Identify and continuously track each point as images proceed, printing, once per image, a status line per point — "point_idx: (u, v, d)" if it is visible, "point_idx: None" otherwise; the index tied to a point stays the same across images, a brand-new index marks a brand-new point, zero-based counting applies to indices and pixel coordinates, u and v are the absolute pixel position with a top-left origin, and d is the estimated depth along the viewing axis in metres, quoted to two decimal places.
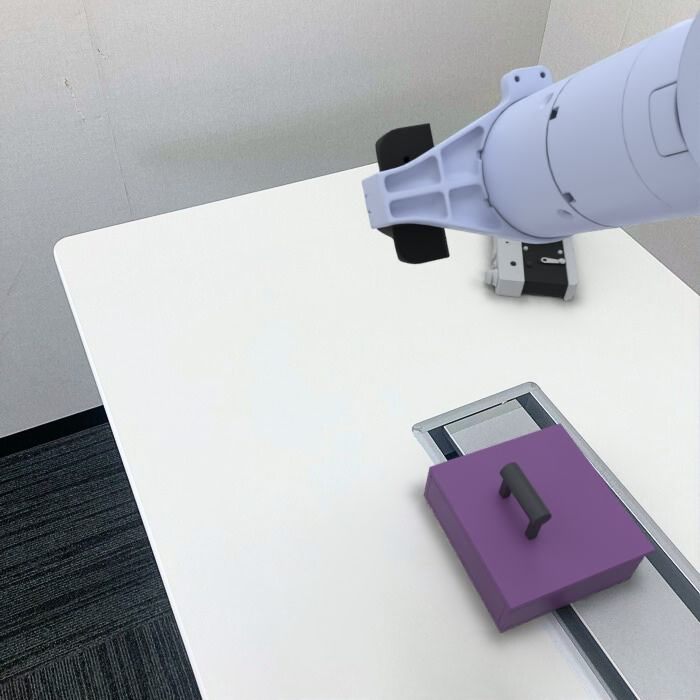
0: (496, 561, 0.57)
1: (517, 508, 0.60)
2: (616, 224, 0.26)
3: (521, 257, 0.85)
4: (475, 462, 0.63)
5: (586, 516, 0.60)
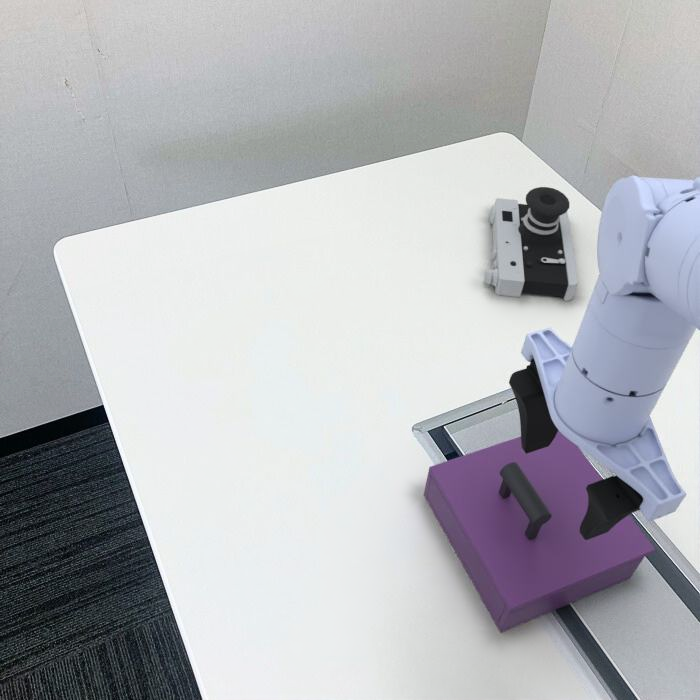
0: (496, 561, 0.57)
1: (517, 508, 0.60)
2: (616, 387, 0.42)
3: (521, 257, 0.85)
4: (475, 462, 0.63)
5: None
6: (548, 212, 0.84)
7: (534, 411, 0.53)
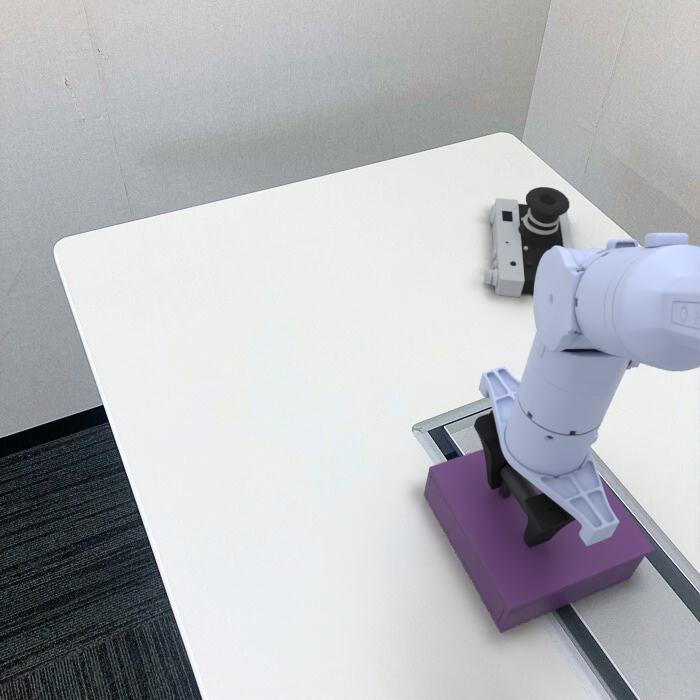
0: (496, 561, 0.57)
1: (517, 508, 0.60)
2: (558, 428, 0.47)
3: (521, 257, 0.85)
4: (475, 462, 0.63)
5: None
6: (548, 212, 0.84)
7: (497, 453, 0.57)
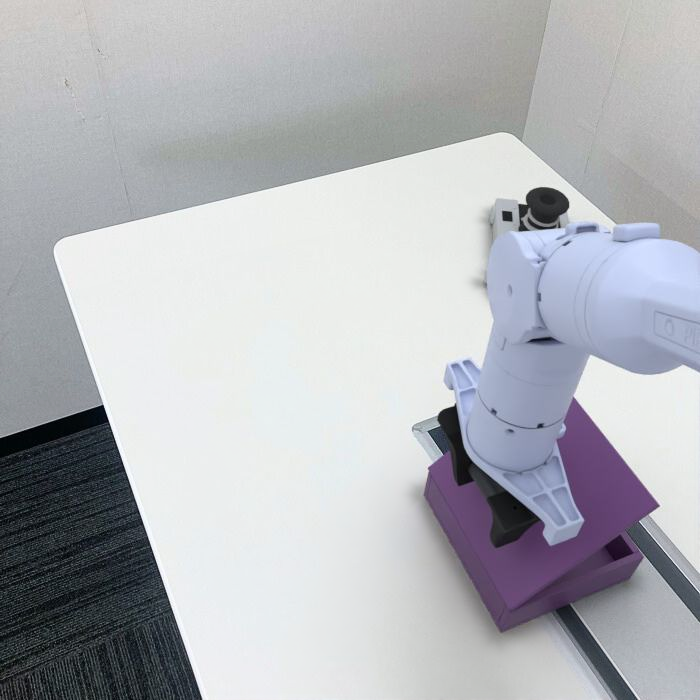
0: (492, 559, 0.56)
1: None
2: (525, 422, 0.45)
3: None
4: None
5: (580, 482, 0.55)
6: (548, 212, 0.84)
7: (461, 447, 0.54)
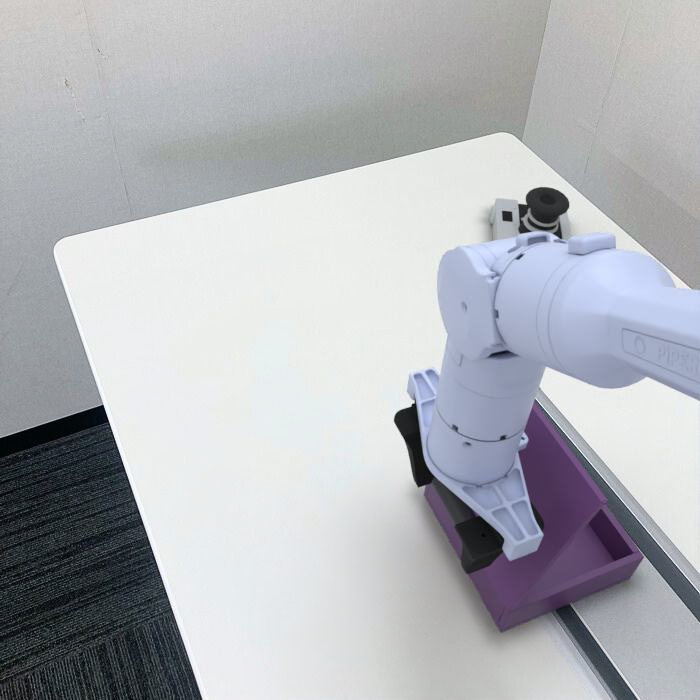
0: None
1: None
2: (487, 436, 0.44)
3: None
4: None
5: (537, 479, 0.51)
6: (548, 212, 0.84)
7: (418, 448, 0.54)
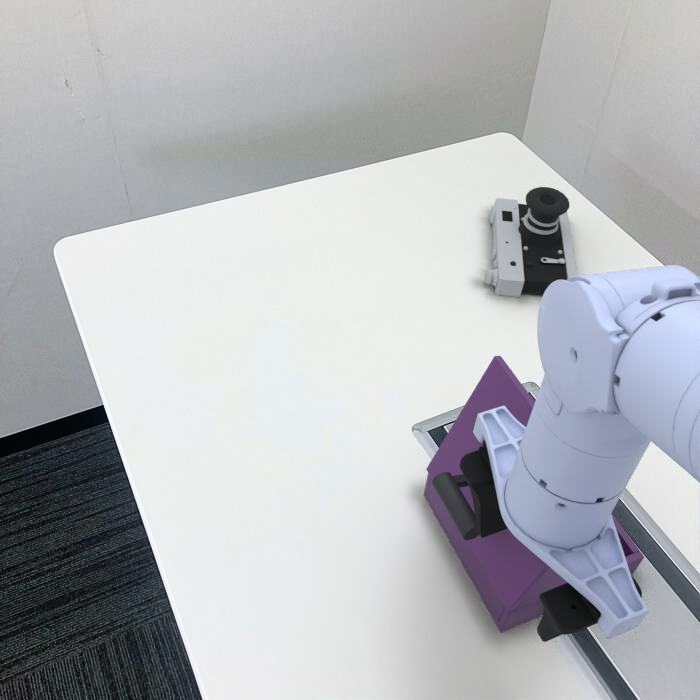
0: (487, 560, 0.56)
1: None
2: (581, 497, 0.37)
3: (521, 257, 0.85)
4: (450, 448, 0.60)
5: None
6: (548, 212, 0.84)
7: (487, 497, 0.48)
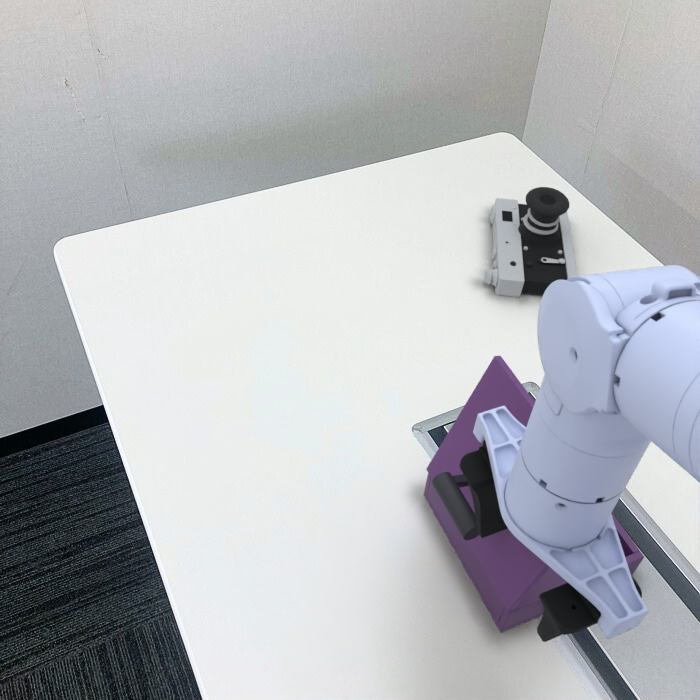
0: (487, 560, 0.56)
1: None
2: (581, 497, 0.37)
3: (521, 257, 0.85)
4: (450, 448, 0.60)
5: None
6: (548, 212, 0.84)
7: (487, 497, 0.48)
